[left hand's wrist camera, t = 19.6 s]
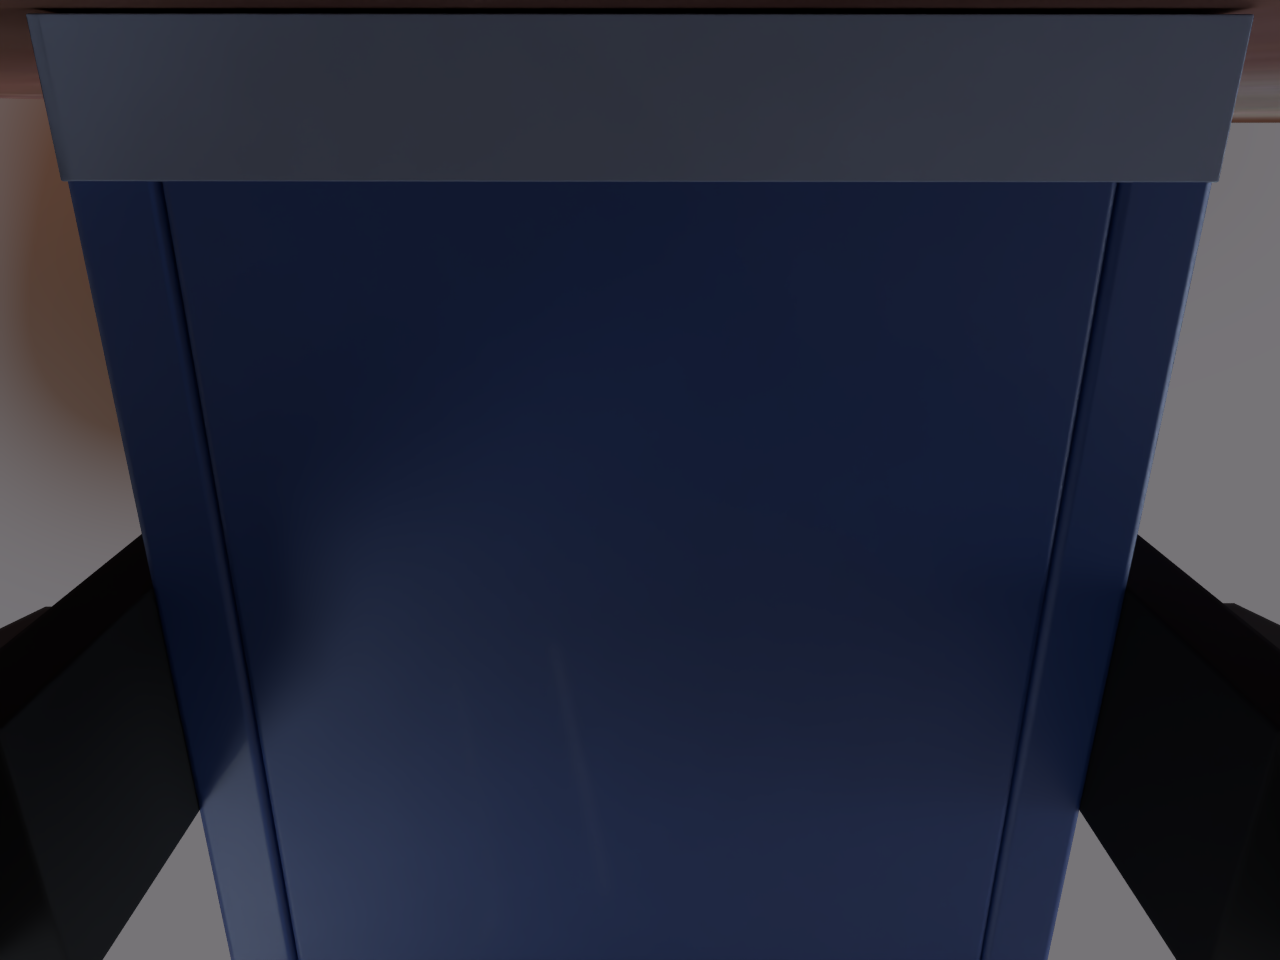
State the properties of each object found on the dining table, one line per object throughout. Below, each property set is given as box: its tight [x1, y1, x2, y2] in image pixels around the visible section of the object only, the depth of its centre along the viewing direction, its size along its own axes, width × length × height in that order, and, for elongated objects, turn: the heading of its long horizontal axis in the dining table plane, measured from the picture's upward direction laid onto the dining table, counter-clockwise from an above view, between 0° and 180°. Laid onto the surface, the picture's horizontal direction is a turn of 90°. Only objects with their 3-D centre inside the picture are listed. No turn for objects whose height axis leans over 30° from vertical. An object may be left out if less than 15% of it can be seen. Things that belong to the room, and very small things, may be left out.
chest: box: [26, 13, 1254, 960], centre depth 16 cm, size 15×10×10 cm, turn 0°
